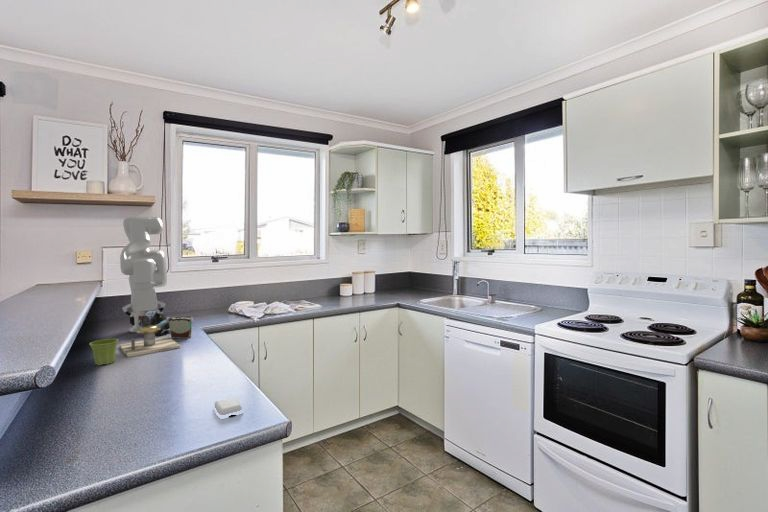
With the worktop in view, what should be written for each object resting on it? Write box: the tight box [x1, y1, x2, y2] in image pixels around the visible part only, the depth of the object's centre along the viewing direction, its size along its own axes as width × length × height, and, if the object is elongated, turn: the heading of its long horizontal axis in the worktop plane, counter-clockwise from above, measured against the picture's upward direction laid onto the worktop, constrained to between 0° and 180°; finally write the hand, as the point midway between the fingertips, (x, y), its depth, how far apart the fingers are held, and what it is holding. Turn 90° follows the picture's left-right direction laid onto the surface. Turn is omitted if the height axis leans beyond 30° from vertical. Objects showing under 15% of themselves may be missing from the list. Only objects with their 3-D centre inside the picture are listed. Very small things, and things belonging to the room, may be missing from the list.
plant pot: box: [88, 338, 119, 366], centre depth 159 cm, size 9×9×9 cm
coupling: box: [136, 315, 161, 334], centre depth 183 cm, size 12×9×6 cm
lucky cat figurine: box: [138, 310, 170, 337], centre depth 208 cm, size 15×12×14 cm
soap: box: [214, 397, 243, 415], centre depth 115 cm, size 9×7×3 cm
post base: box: [119, 332, 181, 358], centre depth 181 cm, size 20×20×7 cm
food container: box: [168, 314, 194, 339], centre depth 200 cm, size 12×6×10 cm, turn 84°
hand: (145, 323), depth 186 cm, fingers open, 9 cm apart
